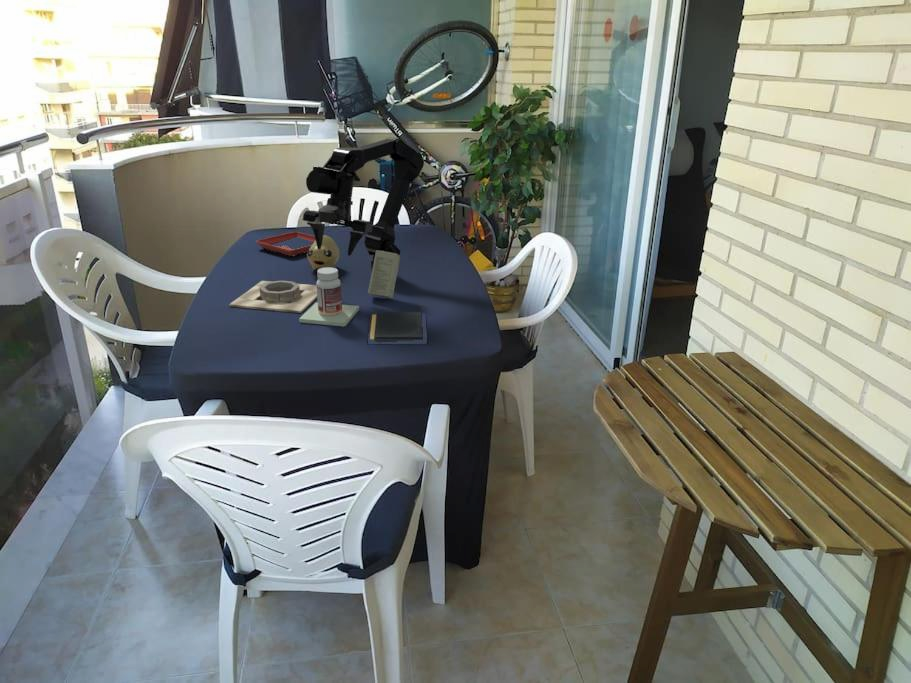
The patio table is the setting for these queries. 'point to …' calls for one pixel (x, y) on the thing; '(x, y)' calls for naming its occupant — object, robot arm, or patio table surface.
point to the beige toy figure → (323, 254)
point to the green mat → (336, 320)
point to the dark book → (395, 326)
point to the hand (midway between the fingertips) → (334, 252)
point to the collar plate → (278, 296)
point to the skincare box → (384, 274)
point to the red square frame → (269, 242)
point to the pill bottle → (329, 291)
